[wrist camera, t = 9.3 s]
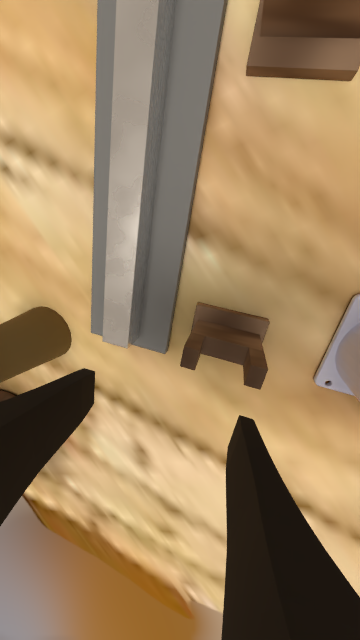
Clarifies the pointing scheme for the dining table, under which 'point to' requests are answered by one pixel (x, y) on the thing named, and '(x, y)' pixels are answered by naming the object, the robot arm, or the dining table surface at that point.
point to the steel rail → (134, 157)
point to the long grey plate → (174, 159)
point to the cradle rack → (291, 62)
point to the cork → (32, 341)
